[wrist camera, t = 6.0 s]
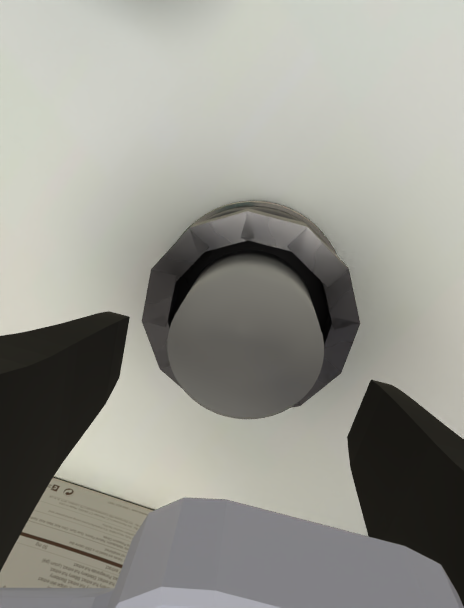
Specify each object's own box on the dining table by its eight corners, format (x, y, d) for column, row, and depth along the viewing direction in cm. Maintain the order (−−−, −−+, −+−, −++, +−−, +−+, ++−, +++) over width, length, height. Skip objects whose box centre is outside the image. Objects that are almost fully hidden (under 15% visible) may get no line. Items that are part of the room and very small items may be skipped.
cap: (290, 377, 18) (296, 435, 14) (178, 347, 18) (154, 397, 14) (328, 268, 16) (346, 301, 12) (204, 235, 16) (185, 257, 12)
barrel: (309, 378, 22) (320, 437, 17) (156, 339, 22) (126, 387, 17) (363, 224, 19) (394, 245, 15) (188, 178, 19) (162, 184, 15)
